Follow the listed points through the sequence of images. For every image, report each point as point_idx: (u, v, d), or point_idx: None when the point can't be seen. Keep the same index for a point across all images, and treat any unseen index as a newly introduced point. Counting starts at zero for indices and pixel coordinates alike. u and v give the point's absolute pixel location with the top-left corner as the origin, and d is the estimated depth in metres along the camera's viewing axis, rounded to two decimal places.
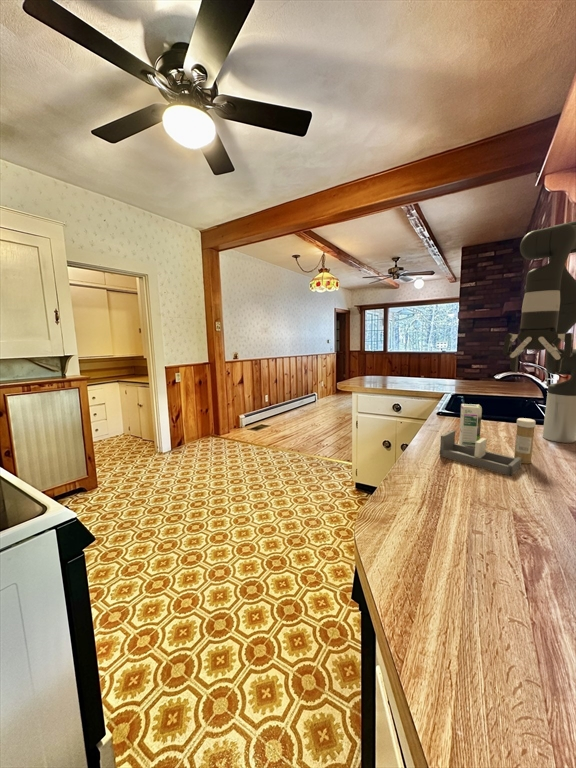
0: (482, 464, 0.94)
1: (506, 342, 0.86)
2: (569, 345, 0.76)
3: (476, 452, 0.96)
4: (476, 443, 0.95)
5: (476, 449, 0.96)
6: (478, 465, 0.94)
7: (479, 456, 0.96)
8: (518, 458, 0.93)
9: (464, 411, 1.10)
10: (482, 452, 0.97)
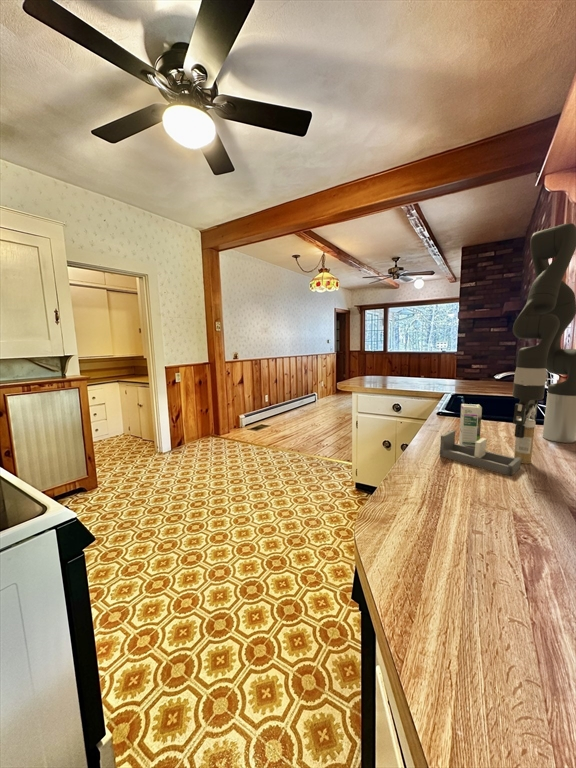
0: (482, 464, 0.94)
1: (524, 413, 0.90)
2: None
3: (476, 452, 0.96)
4: (476, 443, 0.95)
5: (476, 449, 0.96)
6: (478, 465, 0.94)
7: (479, 456, 0.96)
8: (518, 458, 0.93)
9: (464, 411, 1.10)
10: (482, 452, 0.97)
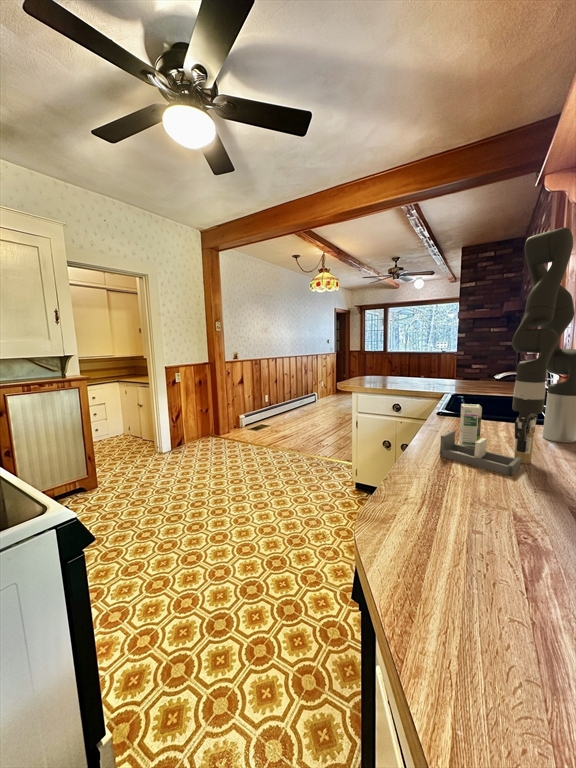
0: (482, 464, 0.94)
1: (525, 430, 0.92)
2: (535, 424, 0.99)
3: (476, 452, 0.96)
4: (476, 443, 0.95)
5: (476, 449, 0.96)
6: (478, 465, 0.94)
7: (479, 456, 0.96)
8: (518, 458, 0.93)
9: (464, 411, 1.10)
10: (482, 452, 0.97)
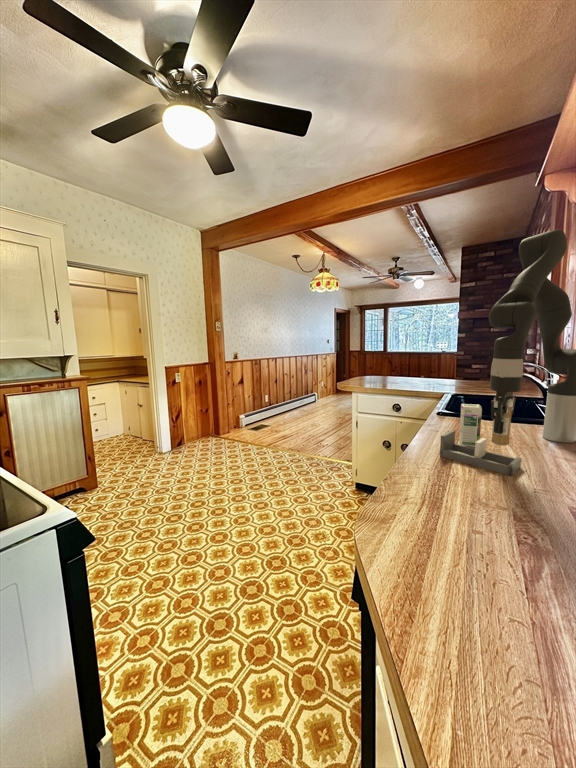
0: (482, 464, 0.94)
1: (501, 409, 0.87)
2: None
3: (476, 452, 0.96)
4: (476, 443, 0.95)
5: (476, 449, 0.96)
6: (478, 465, 0.94)
7: (479, 456, 0.96)
8: (518, 458, 0.93)
9: (464, 411, 1.10)
10: (482, 452, 0.97)
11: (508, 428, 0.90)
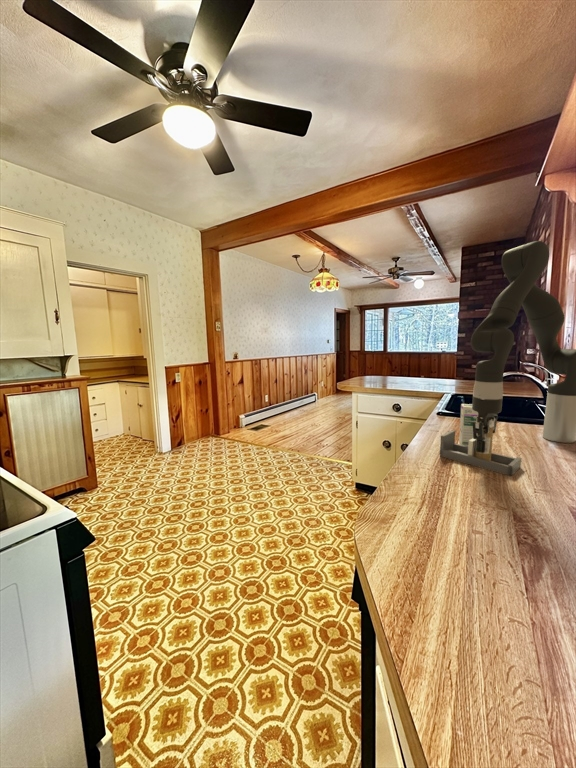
0: (482, 464, 0.94)
1: (482, 430, 0.91)
2: None
3: (469, 450, 0.97)
4: (469, 441, 0.97)
5: (469, 447, 0.97)
6: (478, 465, 0.94)
7: (472, 454, 0.97)
8: (518, 458, 0.93)
9: (464, 411, 1.10)
10: None
11: (490, 447, 0.95)
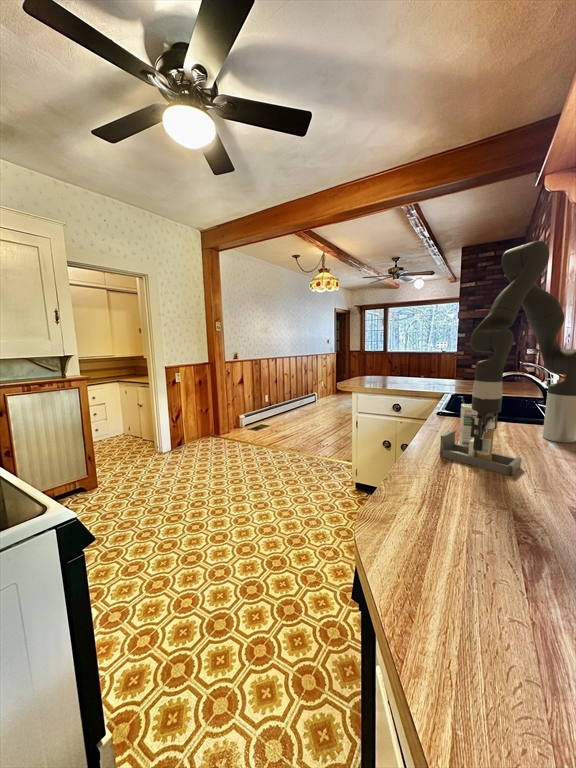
0: (482, 464, 0.94)
1: (481, 427, 0.91)
2: (496, 420, 0.99)
3: (470, 450, 0.97)
4: (470, 442, 0.97)
5: (470, 448, 0.97)
6: (478, 465, 0.94)
7: (473, 454, 0.97)
8: (518, 458, 0.93)
9: (464, 411, 1.10)
10: None
11: (490, 449, 0.95)
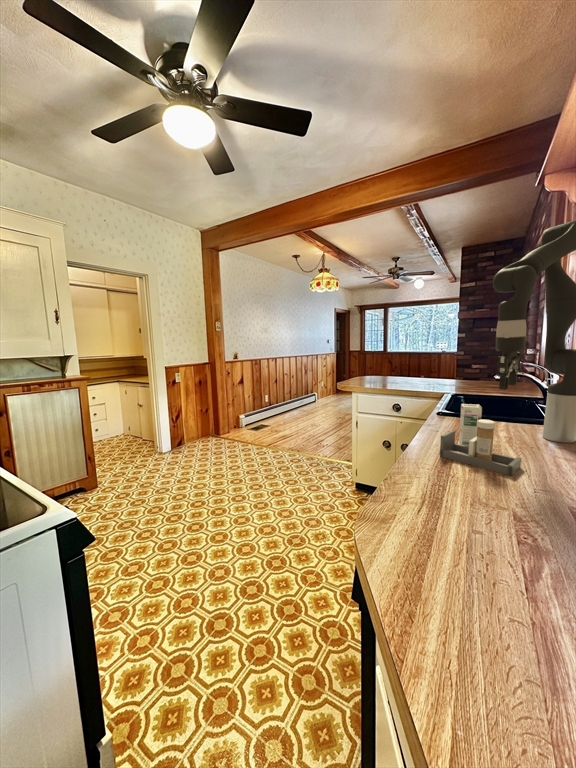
0: (482, 464, 0.94)
1: (507, 364, 0.93)
2: None
3: (470, 450, 0.97)
4: (470, 442, 0.97)
5: (470, 448, 0.97)
6: (478, 465, 0.94)
7: (473, 454, 0.97)
8: (518, 458, 0.93)
9: (464, 411, 1.10)
10: None
11: (490, 449, 0.95)
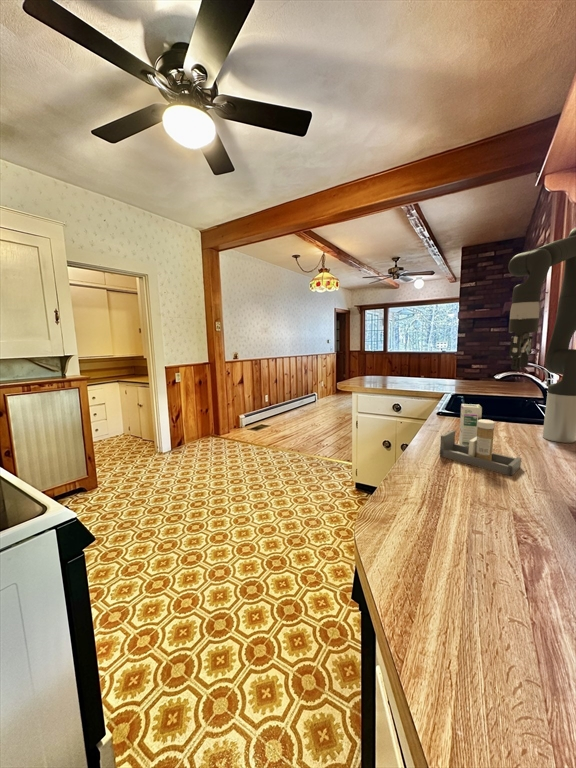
0: (482, 464, 0.94)
1: (520, 344, 0.96)
2: (531, 344, 1.04)
3: (470, 450, 0.97)
4: (470, 442, 0.97)
5: (470, 448, 0.97)
6: (478, 465, 0.94)
7: (473, 454, 0.97)
8: (518, 458, 0.93)
9: (464, 411, 1.10)
10: None
11: (490, 449, 0.95)
